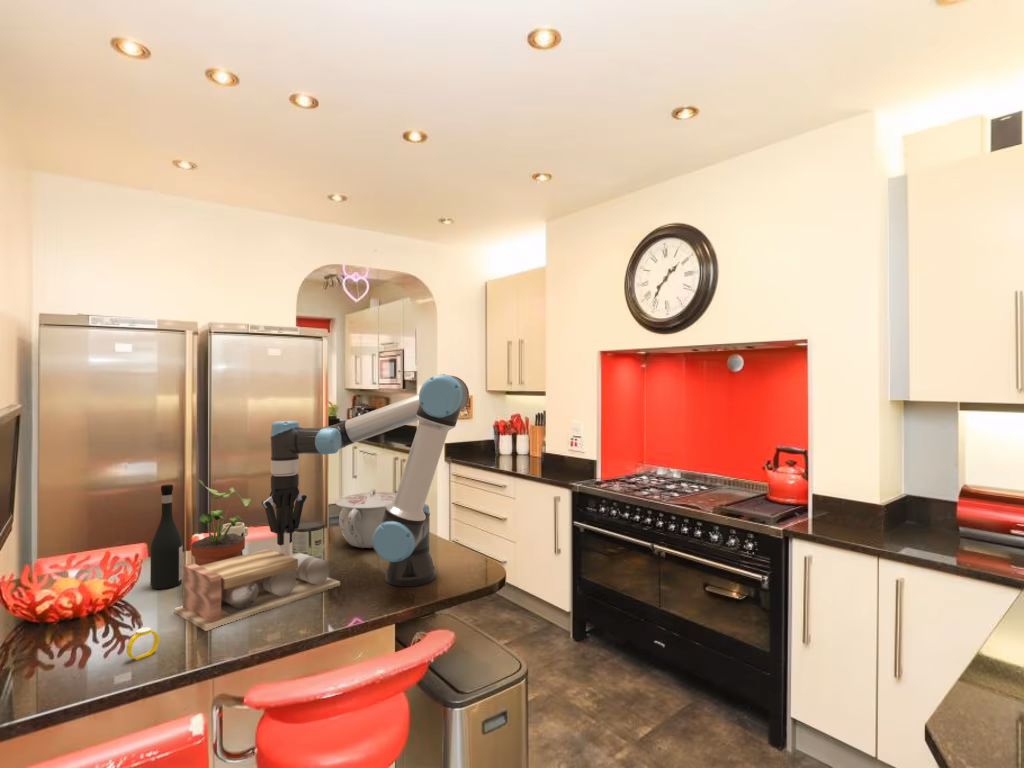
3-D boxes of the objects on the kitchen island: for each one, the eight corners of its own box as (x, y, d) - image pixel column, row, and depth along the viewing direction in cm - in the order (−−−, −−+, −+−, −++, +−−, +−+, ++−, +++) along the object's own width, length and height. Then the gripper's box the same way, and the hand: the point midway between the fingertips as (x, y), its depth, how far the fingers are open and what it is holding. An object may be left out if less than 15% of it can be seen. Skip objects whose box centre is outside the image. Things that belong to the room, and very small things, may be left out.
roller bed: (340, 585, 161) (340, 544, 161) (205, 631, 131) (206, 580, 131) (305, 573, 172) (306, 535, 172) (174, 612, 142) (174, 566, 142)
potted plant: (218, 597, 152) (218, 473, 152) (179, 591, 157) (179, 470, 158) (261, 579, 167) (262, 465, 167) (224, 573, 172) (224, 463, 172)
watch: (153, 651, 122) (155, 623, 122) (159, 654, 120) (162, 626, 121) (123, 660, 116) (125, 632, 117) (130, 664, 115) (132, 635, 115)
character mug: (224, 569, 176) (224, 529, 176) (210, 566, 179) (211, 527, 179) (254, 560, 185) (254, 522, 185) (241, 557, 189) (241, 520, 189)
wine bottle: (175, 578, 167) (175, 481, 168) (187, 584, 163) (187, 484, 163) (145, 586, 161) (146, 485, 161) (157, 592, 156) (157, 488, 156)
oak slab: (297, 568, 151) (297, 559, 151) (224, 589, 135) (224, 579, 135) (267, 557, 161) (267, 549, 161) (196, 576, 145) (196, 566, 145)
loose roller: (258, 603, 144) (257, 577, 144) (231, 612, 139) (231, 585, 139) (236, 593, 151) (235, 568, 151) (210, 602, 146) (209, 576, 146)
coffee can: (300, 561, 184) (301, 520, 184) (330, 562, 183) (330, 520, 183) (285, 571, 174) (285, 527, 174) (316, 572, 173) (316, 528, 173)
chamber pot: (389, 530, 225) (389, 480, 225) (422, 545, 204) (422, 489, 204) (322, 542, 207) (322, 488, 207) (351, 560, 186) (351, 499, 186)
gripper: (298, 470, 164) (297, 547, 164) (256, 475, 154) (256, 558, 154) (312, 472, 160) (312, 552, 160) (270, 478, 150) (269, 563, 149)
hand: (284, 555), depth 157 cm, fingers closed
